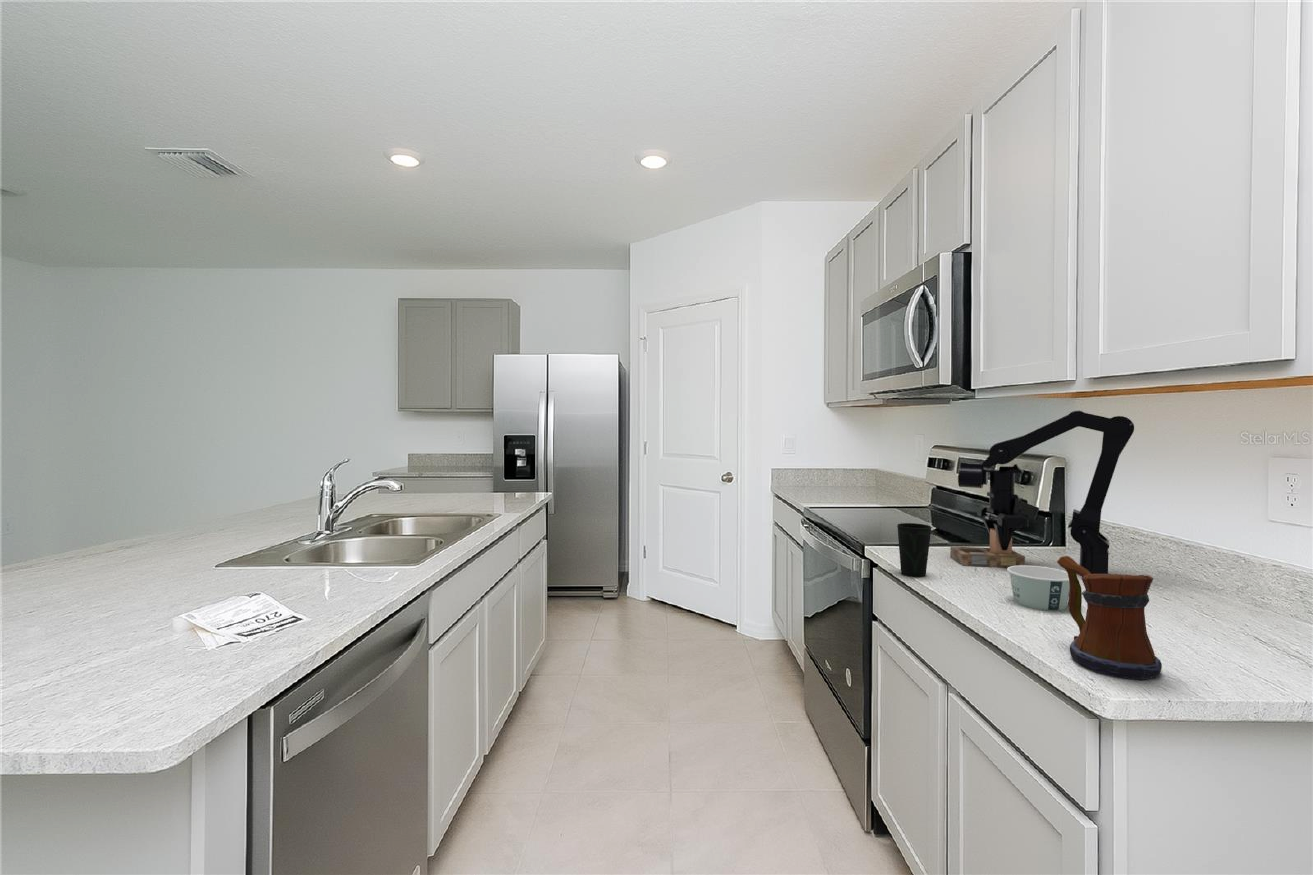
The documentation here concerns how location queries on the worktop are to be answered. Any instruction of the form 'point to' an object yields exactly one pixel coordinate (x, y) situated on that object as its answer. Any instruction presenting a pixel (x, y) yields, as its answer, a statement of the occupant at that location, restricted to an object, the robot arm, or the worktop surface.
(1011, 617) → the worktop surface
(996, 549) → the tan rectangular block
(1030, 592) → the food container
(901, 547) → the cup
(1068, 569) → the mug
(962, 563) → the socket block
